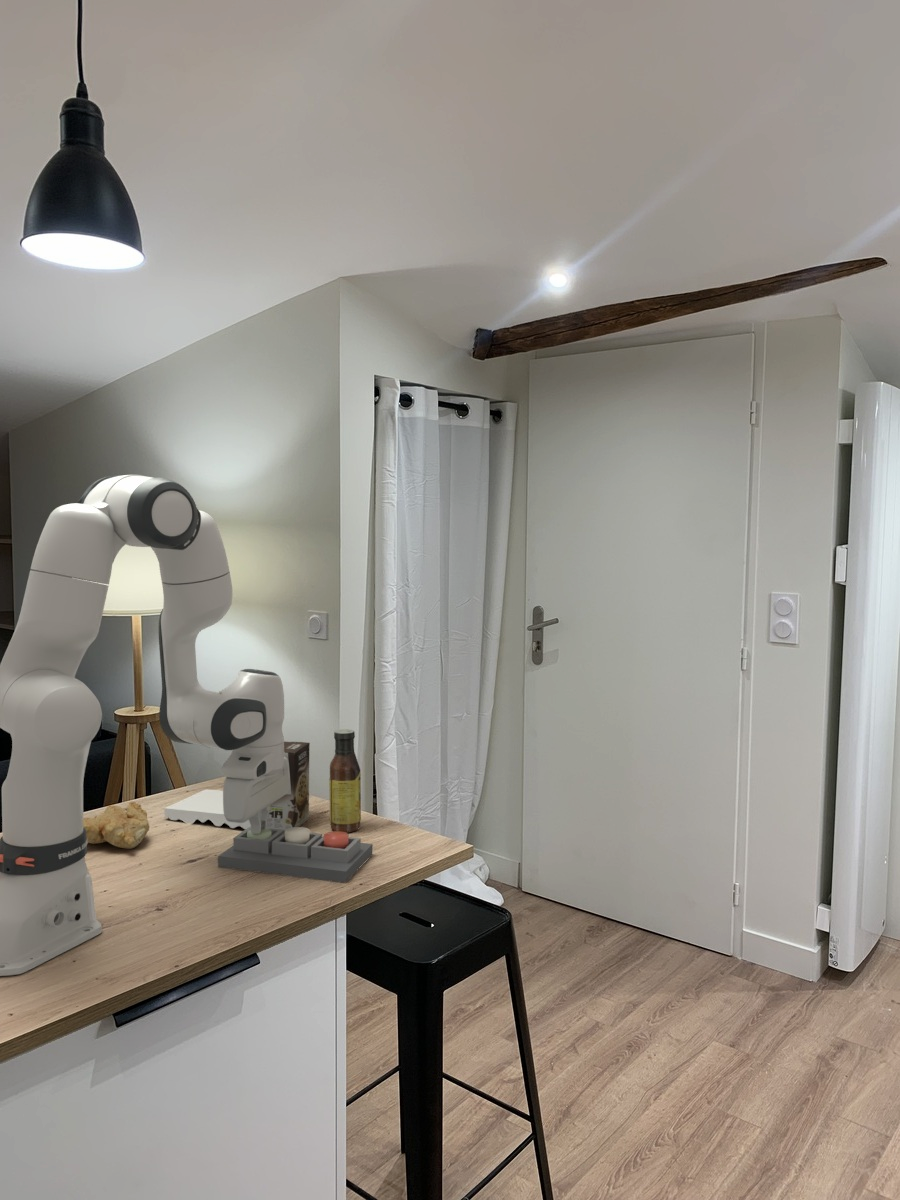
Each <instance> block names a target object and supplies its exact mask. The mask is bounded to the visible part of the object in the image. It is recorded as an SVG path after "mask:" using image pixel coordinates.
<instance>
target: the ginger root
mask: <svg viewBox="0 0 900 1200" xmlns="http://www.w3.org/2000/svg"><path fill="white" fill-rule="evenodd" d="M83 827H84V828H85V829H86V835H87V840H88V844H91V845H93V844H94V845H95V844H103V843H106V842H107V843H108V844H110V845H112V846H114V847H116V848H121V849H126V850H127V849H131V850H132V849H134V848H136V847H137V846H138V845H139V844H141V842H142V841H143V839H144V838H145V836H146V835H147V833H148V832H149V831H150V823H149V821H148V813H147V811H146V810H144V809H143V808H142V805H141V803H140V802H139V803H136V801H129V803H128V805H127V806H126V811H125V809H124V808H122V806H119V805H112V804H111V805H108V806H107V807H106V808H105V810H104V812H103V813H100V814H98V815H95V816H94V817H85V818H84V817H83Z"/></svg>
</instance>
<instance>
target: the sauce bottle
mask: <svg viewBox="0 0 900 1200" xmlns="http://www.w3.org/2000/svg"><path fill="white" fill-rule="evenodd" d="M333 733H334V735H333V737H334V741H335V742H334V745H335V746H334V747H335V748H334V756H333V758H332V759H331V761H330V764H329V778H328V779H329V780H328V783H329V784H328V785H329V786H328V787H329V793H328V794H329V822H330V823H329V824H330V829H331V830H332V832H333V831H341V832H345V833H347V834H348V833H352V832H356V831H358V830H359V829H360V828H361V821H362V814H361V813H362V810H361V809H362V805H361V804H362V801H361V800H362V796H361V795H362V794H361V790H362V788H361V778H362V777H361V768H360V765H359V761H358V759H357V756H356V753H355V737H356V736H355V735H356V733H355V731H354V730H353V729H348V728H347V729H345V728H344V729H337V730H335V731H334V732H333Z"/></svg>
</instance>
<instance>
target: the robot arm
mask: <svg viewBox="0 0 900 1200" xmlns="http://www.w3.org/2000/svg"><path fill="white" fill-rule="evenodd" d="M125 545H126V546H130V547H139V548H151V550H152V551H153V553H154V554H155V557H156V558H157V561H158V565H159V573H160V574H159V575H160V580H161V584H162V591H163V592H162V593H163V607H162V610H161V612H160V614H159V617H158V645H159V648H158V649H159V650H158V651H159V661H160V674H161V675H160V676H161V696H160V697H161V698H160V705H159V715H158V719H159V720H158V721H159V725H160V728H161V731H162V732H163V734H164V735H165V737H167V739H169V740H170V741H172V742H175V743H178V744H180V743H181V744H187V745H188V744H189V745H197V746H202V747H205V748H210V749H211V748H212V749H215V750H220V751H231V753H230V755H229V756H228V758H227V759H226V760H225V762H224V763H223V764H222V766H221V776H222V777H223V778H224V777H225V780H224V781H223V786H222V791H223V811H224V816H225V818H226V820H227V821H229V822H237V823H244V822H245V821H247V820H248V819H249V821H250V824H251V833H253V834H259V833H261V832H262V831H263V830H265V829H266V828H267V818H268V815H269V812H270V805H271V804H272V803H274V802H275V801H277V800H278V799H280V798H281V797H283V796H284V795H286V794H287V793H288V791H289V788H290V772H289V762H288V759H287V758H286V757H285V752H284V742H285V737H284V734H283V722H284V720H285V693H284V685H283V681H282V679H281V677H280V675H279V674H277V673H275V672H273V671H268V670H263V669H262V670H261V669H260V670H259V669H254V668H245V669H241V670H239V672H238V674H237V677H236V678H235V679H234V680H233V682H231V683H230V684H229V685H228V686H227V687H225V688H224V689H222V690H219V691H218V692H216V691H212V690H207V689H205V688H204V687H203V686H202V685H201V683H200V682H199V679H198V672H197V671H198V670H197V655H196V654H197V653H196V652H197V651H196V640H197V637H198V635H199V633H201V631H203V630H205V629H207V628H210V627H211V626H213V625H215V624H217V623H218V622H219V621H221V620H222V619H224V617H225V616H226V614H228V612H229V610H230V608H231V606H232V603H233V584H232V582H233V581H232V577H231V573H230V572H231V571H230V567H229V562H228V556H227V553H226V549H225V546H224V542H223V539H222V536H221V533H220V530H219V527H218V525H217V523H216V521H215V519H214V517H212V515H210V514H209V513H208V512H205V511H203V510H200V509H198V507H197V504H196V501H194V498H193V496H192V495H191V493H190V492H189V491H188V490H187V489H186V488H185V487H184V486H183V485H181V484H180V483H179V482H176V481H174V480H172V479H168V478H165V477H154V476H146V475H143V474H142V475H141V474H125V475H108V476H105V477H102V478H99V479H98V480H96V481H94V482H93V483H91V484H90V485H89V486H87V488H86V490H85V491H84V492H83V494H82V495H81V497H80V498H79V499H78V501H77V502H76V503H74V502H73V503H68V504H67V503H66V504H62V505H60V506H58V507H55V509H53V510H52V511H51V512H50V514H49V516H48V518H47V519H46V522H45V525H44V527H43V529H42V531H41V534H40V536H39V539H38V542H37V544H36V548H35V551H34V555H33V557H32V562H31V566H30V571H29V573H28V578H27V583H26V587H25V591H24V595H23V600H22V605H21V609H20V614H19V617H18V620H17V623H16V626H15V629H14V630H13V631H14V632H13V634H12V637H11V639H10V641H9V643H8V646H7V648H6V650H5V652H4V655H3V657H2V660H1V661H0V729H2V730H3V731H4V732H6V733H8V734H10V737H11V741H12V742H11V743H12V744H11V746H12V748H11V756H10V760H9V767H8V772H7V776H6V778H5V780H4V781H3V783H2V784H1V785H2V786H1V817H2V818H1V819H2V820H1V821H2V822H1V824H2V825H1V827H2V828H1V829H2V831H1V833H2V836H0V977H2V976H14V975H21V974H25V973H26V972H28V971H30V970H31V969H35V968H36V967H37V966H40V965H42V964H44V963H45V962H47V961H49V960H51V959H53V958H55V957H57V956H59V955H61V954H63V953H65V952H68V951H69V950H71V949H73V948H75V947H77V946H79V945H80V944H83V943H84V942H87V941H89V940H90V939H92V938H95V937H97V936H98V935H100V934H101V933H102V932H103V927H102V923H101V922H100V921H99V920H98V919H97V913H96V905H95V904H96V903H95V896H94V887H93V878H92V875H91V874H90V871H89V869H88V866H87V864H86V857H85V856H86V855H87V853H88V844H89V843H88V840H87V835H86V829H85V828H84V827H83V819H84V778H85V773H86V767H87V761H88V756H89V753H90V747H91V743H92V741H93V740H94V738H95V737H96V736H97V734H98V732H99V730H100V728H101V724H102V720H103V718H102V717H103V711H102V706H101V704H100V701H99V700H98V698H97V696H96V695H95V694H94V692H93V691H92V690H91V689H90V688H89V687H88V686H87V685H86V683H85V682H83V681H81V680H79V679H77V678H76V675H77V672H78V668H79V666H80V664H81V662H82V659H83V657H84V656H85V654H86V652H87V650H88V649H89V647H90V646H91V644H92V643H93V642H94V641H95V640H96V638H97V637H98V635H99V631H100V627H101V624H102V623H101V622H102V619H103V618H102V617H103V613H104V609H105V605H106V600H107V594H108V590H109V585H110V580H111V576H112V571H113V564H114V561H115V559H116V557H117V555H118V554H119V552H120V551H121V549H122V548H123V547H124V546H125Z"/></svg>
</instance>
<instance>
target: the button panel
mask: <svg viewBox="0 0 900 1200" xmlns="http://www.w3.org/2000/svg"><path fill="white" fill-rule="evenodd" d="M266 829H269V830H271V837H269V838H268V839H267V840H262V839H253V838H247V832H248V831H249V830H251V826H250V827H248V828H247V829H244V830H243V831H241V832H240V833H238V834H237V835H235V836H234V837H233V845H232V846H230V847H229V848H227V849H226V850H225V851H223V852H221V854H219V855H218V856H217V867H218V868H222V867H224V869H225V868H226V869H231V868H234V869H233V870H239V869H241V870H240V871H247V870H250V871H249V872H255V871H256V873H263V872H264V874H272V875H279V876H289V877H296V878H297V877H298V878H303V879H310V880H312V879H313V880H319V881H320V880H321V881H329V882H336V883H342V884H346V883H347V882H348V881H349V880H350V879H351V878H352V877H353V876H354V875H355V873H357V871H358V870H359V869H360V868H361V867H362V866H363V865H364V864H365V863H366V862H367V861H368V860H369V859H370V858H369V857H370V856H371V855H372V856H373V843H366V842H361V840H362V839H361V837H351V836H349V842H348V846H347V847H346V848H345V849H340V848H332V847H324V835H323V833H317V832H316V833H315V832H310V841H308V842H307V843H306V844H297V843H288V842H285V831H284V830H282V829H273V828H266ZM372 856H371V857H372ZM368 858H369V859H368ZM367 859H368V860H367ZM366 860H367V861H366ZM365 861H366V862H365ZM364 862H365V863H364ZM363 863H364V864H363ZM362 864H363V865H362ZM361 865H362V866H361ZM360 866H361V867H360ZM359 867H360V868H359ZM357 869H358V870H357ZM353 874H354V875H353ZM352 875H353V876H352ZM351 876H352V877H351ZM350 877H351V878H350ZM349 878H350V879H349ZM345 882H346V883H345Z"/></svg>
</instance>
